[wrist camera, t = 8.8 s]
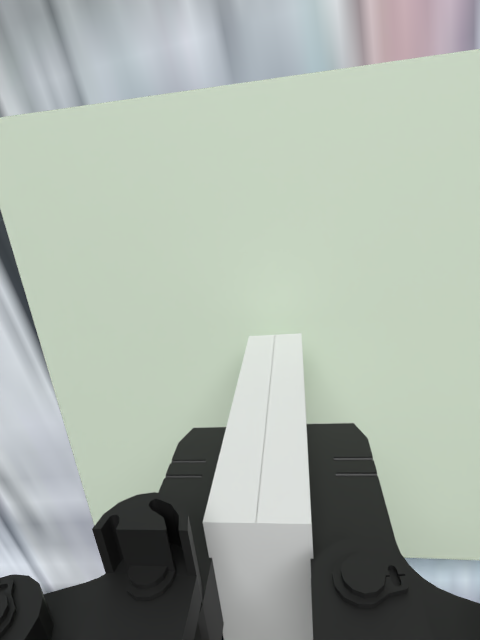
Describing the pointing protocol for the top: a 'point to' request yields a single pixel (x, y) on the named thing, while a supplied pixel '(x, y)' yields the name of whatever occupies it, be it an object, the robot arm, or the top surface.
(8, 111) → the top surface
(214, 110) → the green
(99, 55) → the top surface
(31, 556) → the top surface
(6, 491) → the top surface
